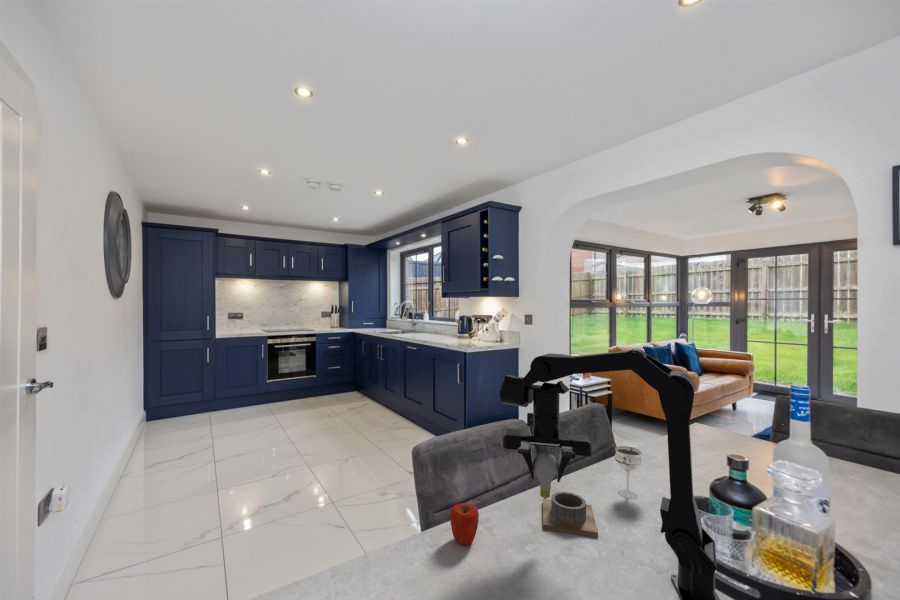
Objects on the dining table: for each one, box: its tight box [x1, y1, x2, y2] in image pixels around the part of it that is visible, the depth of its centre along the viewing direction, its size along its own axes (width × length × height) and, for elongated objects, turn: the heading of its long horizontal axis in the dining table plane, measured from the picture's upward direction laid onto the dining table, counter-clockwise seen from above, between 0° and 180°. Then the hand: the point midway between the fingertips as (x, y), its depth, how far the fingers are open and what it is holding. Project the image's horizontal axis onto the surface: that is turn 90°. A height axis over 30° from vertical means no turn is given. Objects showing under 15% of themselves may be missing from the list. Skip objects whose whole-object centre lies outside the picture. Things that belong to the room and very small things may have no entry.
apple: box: [449, 502, 480, 546], centre depth 83 cm, size 6×6×8 cm
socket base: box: [542, 491, 599, 538], centre depth 93 cm, size 12×12×4 cm
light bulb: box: [533, 452, 559, 499], centre depth 85 cm, size 5×6×10 cm
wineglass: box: [614, 445, 643, 499], centre depth 105 cm, size 7×7×12 cm
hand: (545, 480), depth 85 cm, fingers closed on light bulb, 5 cm apart
